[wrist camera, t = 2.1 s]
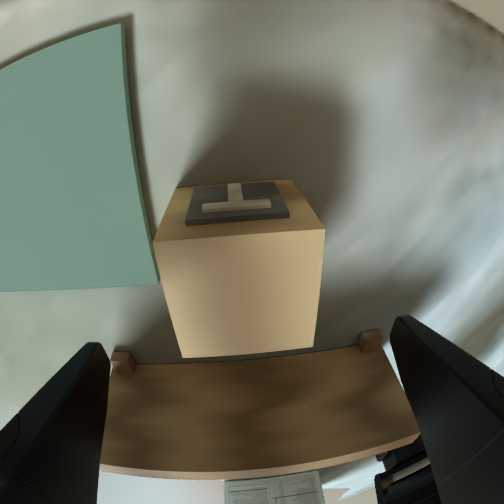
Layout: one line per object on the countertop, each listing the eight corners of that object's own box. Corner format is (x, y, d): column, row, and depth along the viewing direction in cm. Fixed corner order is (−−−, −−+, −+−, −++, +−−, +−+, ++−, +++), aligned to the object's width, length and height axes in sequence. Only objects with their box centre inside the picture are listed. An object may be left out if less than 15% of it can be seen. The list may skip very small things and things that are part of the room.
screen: (383, 328, 18) (430, 421, 12) (370, 365, 20) (405, 450, 14) (107, 351, 17) (80, 453, 11) (126, 387, 19) (110, 477, 13)
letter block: (291, 171, 13) (326, 219, 9) (289, 274, 16) (312, 346, 11) (175, 180, 13) (150, 232, 8) (191, 282, 15) (182, 357, 11)
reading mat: (125, 25, 9) (120, 23, 8) (160, 277, 15) (158, 284, 14) (-54, 106, 8) (-61, 108, 8) (-4, 286, 14) (-9, 291, 14)
